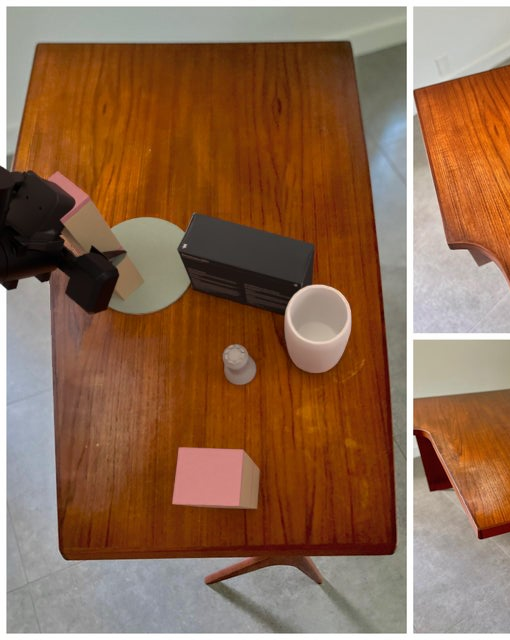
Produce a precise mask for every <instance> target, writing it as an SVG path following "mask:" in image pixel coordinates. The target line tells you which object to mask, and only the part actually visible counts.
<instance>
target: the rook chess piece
mask: <svg viewBox="0 0 510 640" xmlns="http://www.w3.org/2000/svg"><path fill="white" fill-rule="evenodd" d="M222 360H223V363H224V366H223V367H224V368H223V369H224V370H223V371H224V375H225V377H226V380H228V381H229V382H230V383H231V384H234V385H237V386H242V385H246V384H248V383H250V382H251V381H252V380H253V379H254V378H255V376H256V373H257V364H256V363H255V360H254V358H253V357H251V356H250V355H249V353H248V351H247V348H245V347H244V345H241V344H238V343H233V344H231V345H229V346H227V347H226V348H225V349H224V350H223V353H222Z"/></svg>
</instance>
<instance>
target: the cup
mask: <svg viewBox="0 0 510 640" xmlns="http://www.w3.org/2000/svg"><path fill="white" fill-rule="evenodd" d="M283 327H284V330H283V331H284V338H285V343H286V344H285V345H286V348H287V352H288V355H289V357H290V359H291V362H293V364H294V365H295V366H296V367H297V368H298V369H300V370H301V371H304V372H307V373H310V374H320V373H326V372H328V371H330V370H331V369H332V368H334V367H335V366H336V365H337V364H338V363H339V361H340V360H341V358H342V356H343V354H344V352H345V350H346V347H347V345H348V342H349V339H350V335H351V330H352V311H351V306H350V303H349V302H348V300H347V298H346V296H345V295H343V294H342V293H341V292H340V290H338V289H336V288H334V287H332V286H329V285H326V284H312V285H310V286H306V287H304V288H302V289H300V290H299V291H298V292H297V293H295V294H294V295H293V297H292V298H291V299H290V301H289V303H288V305H287V308H286V312H285V315H284V326H283Z"/></svg>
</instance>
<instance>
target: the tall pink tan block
mask: <svg viewBox="0 0 510 640" xmlns="http://www.w3.org/2000/svg"><path fill="white" fill-rule="evenodd" d="M177 450H178V453H177V458H176V459H177V461H176V468H175V477H174V478H175V479H174V484H173V493H172V502H171V504H172V505H178V506H187V507H189V506H190V507H199V508H210V509H236V510H237V509H238V510H239V509H242V510H257V509H258V503H259V489H260V473H261V470H260V468H259V467H258V465H257V464H256V463H255V462H254V461H253V459H252V458H251V457H250V456H249V454H248V453H247V452H246V451H245V450H244V449H241V448H213V447H212V448H210V447H187V446H186V447H184V446H183V447H182V446H179V447H178V449H177Z"/></svg>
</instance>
